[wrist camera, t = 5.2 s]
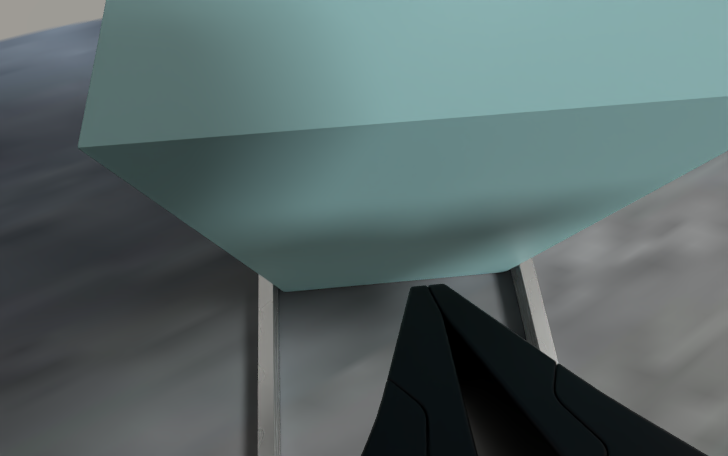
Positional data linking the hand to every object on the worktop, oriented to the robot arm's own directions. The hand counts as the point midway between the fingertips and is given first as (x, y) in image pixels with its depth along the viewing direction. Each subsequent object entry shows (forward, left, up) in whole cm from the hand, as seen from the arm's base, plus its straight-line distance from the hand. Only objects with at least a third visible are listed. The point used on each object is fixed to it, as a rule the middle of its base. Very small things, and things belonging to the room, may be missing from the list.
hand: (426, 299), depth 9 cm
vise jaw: (+3, -1, -7) cm, 8 cm away
